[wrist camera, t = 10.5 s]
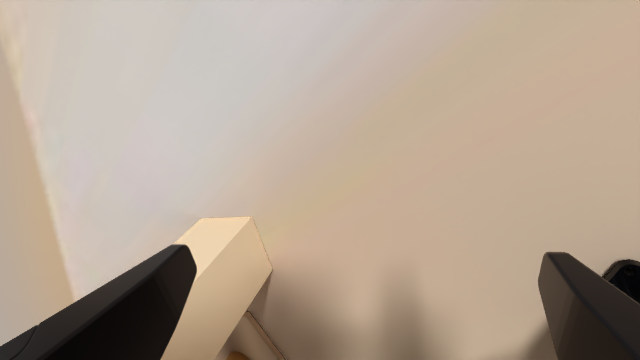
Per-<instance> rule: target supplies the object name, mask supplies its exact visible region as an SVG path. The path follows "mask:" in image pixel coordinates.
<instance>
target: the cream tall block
mask: <svg viewBox="0 0 640 360" xmlns="http://www.w3.org/2000/svg"><path fill="white" fill-rule="evenodd" d="M174 244H185V245H187V246H188V247H189V248H190V251H191V253H192V256H193V258H194V260H195V263H196V265H197V274H196V277H195V280H194V282H193V285H192V288H191V290H190V293H189V296H188V298H187V301H186V304H185V307H184V309H183V312H182V315H181V317H180V320H179V322H178V325H177V327H176V329H175V331H174V333H173V335H172V337H171V339H170V342H169V344H168V346H167V348H166V350H165V352H164V354H163V356H162V358H161V360H214V359H215V357H216V356H217V354H218V353H219V351H220V350H221V348H222V347H223V345H224V344H225V342H226V340H227V339H228V337H229V336H230V334H231V333H232V331H233V330H234V328H235V327H236V325H237V324H238V322H239V321H240V319H241V317H242V316H243V314H244V313H245V311H246V310H247V308H248V307H249V305H250V304H251V302H252V301H253V299H254V298H255V296H256V295H257V293H258V291H259V290H260V288H261V287H262V285H263V284H264V282H265V281H266V279H267V278H268V276H269V275H270V273H271V272H272V270H273V269H272V267H271V264H270V262H269V259H268V257H267V254H266V252H265V249H264V246H263V244H262V241H261V239H260V236H259V234H258V231H257V228H256V226H255V223H254V221H253V218H252V217H227V218H201V219H200V220H199V221H198V222H197V223H196V224H195V225H193V226H192V227H191V228H190V229H189V230H188V231H187V232H186V233H185V234H184V235H183V236H181V237H180V238H179V239H178V240H177V241H176V242H175V243H174Z"/></svg>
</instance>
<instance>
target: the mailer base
mask: <svg viewBox="0 0 640 360" xmlns="http://www.w3.org/2000/svg"><path fill="white" fill-rule="evenodd" d="M214 360H285V359H284V358H283V356H282V355H281V354H280V352H279V351H278V350H277V348H276V347H275V346H274V344H273V343H272V342H271V340H270V339H269V338H268V336H267V335H266V334H265V332H264V331H263V330H262V328H261V327H260V326H259V324H258V323H257V322H256V320H255V319H254V318H253V317H252V315H251V314H250V313H249V311H248V312H245V313H244V314H243V316H242V317H241V319H240V321H239V322H238V324H237V325H236V327H235V328H234V330H233V331H232V333H231V334H230V336H229V337H228V339H227V340H226V342H225V344H224V345H223V347H222V348H221V350H220V351H219V353H218V354H217V356H216V357H215V359H214Z"/></svg>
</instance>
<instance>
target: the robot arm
mask: <svg viewBox="0 0 640 360" xmlns="http://www.w3.org/2000/svg"><path fill="white" fill-rule="evenodd" d="M627 268H633V269H631V270H626V269H627ZM196 274H197V265H196V263H195V260H194V258H193V256H192V253H191V251H190V248H189V247H188V246H187V245H185V244H173V245H170V246H169V247H167V248H165V249H164V250H162V251H160V252H159V253H157V254H155V255H153V256H152V257H150V258H148V259H147V260H145V261H143V262H142V263H140V264H138V265H137V266H135V267H133V268H132V269H130V270H128V271H127V272H125V273H123V274H122V275H120V276H118V277H117V278H115V279H113V280H111V281H110V282H108V283H106V284H105V285H103V286H101V287H100V288H98V289H96V290H95V291H93V292H91V293H90V294H88V295H86V296H85V297H83V298H81V299H80V300H78V301H76V302H75V303H73V304H71V305H70V306H68V307H66V308H64V309H63V310H61V311H59V312H58V313H56V314H54V315H53V316H51V317H49V318H48V319H46V320H44V321H43V322H41V323H40V324H39V325H36V326H34V327H32V328H31V329H29V330H27V331H26V332H24V333H22V334H21V335H19V336H17V337H16V338H14V339H12V340H10V341H9V342H7V343H5V344H3V345H2V346H0V360H161V358H162V356H163V354H164V352H165V350H166V348H167V346H168V344H169V342H170V339H171V337H172V335H173V333H174V331H175V329H176V327H177V325H178V322H179V320H180V317H181V315H182V312H183V309H184V307H185V304H186V301H187V298H188V296H189V293H190V290H191V288H192V285H193V282H194V280H195V277H196ZM538 286H539V291H540V295H541V298H542V302H543V306H544V310H545V314H546V317H547V321H548V325H549V329H550V333H551V336H552V340H553V344H554V347H555V351H556V354H557V357H558V360H640V262H638V261H635V260H630V259H627V260H622V261H620V262H619V263H617V264H616V266H615V267H614V268H613V269H612V270H611V271H610V273H609V274H608V275H607V276H606V277H605V278H602V277H601V276H599V275H598V274H597V273H595V272H594V271H592V270H591V269H590V268H588V267H587V266H585V265H584V264H583V263H581V262H580V261H578V260H577V259H576V258H574V257H573V256H571V255H570V254H568V253H565V252H547V253H545V254H544V256H543V260H542V264H541V269H540V273H539V278H538Z"/></svg>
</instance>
